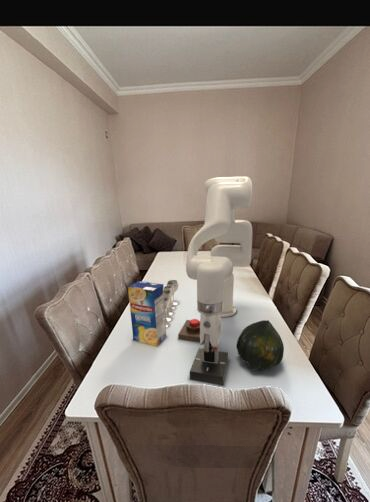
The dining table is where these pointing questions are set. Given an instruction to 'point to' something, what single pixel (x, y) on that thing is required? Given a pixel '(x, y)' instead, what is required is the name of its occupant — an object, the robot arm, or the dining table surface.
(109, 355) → the dining table surface
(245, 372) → the dining table surface
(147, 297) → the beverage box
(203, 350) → the brew dial
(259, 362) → the squash
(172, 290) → the goblet set
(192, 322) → the power button
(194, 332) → the switch block
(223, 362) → the control panel
